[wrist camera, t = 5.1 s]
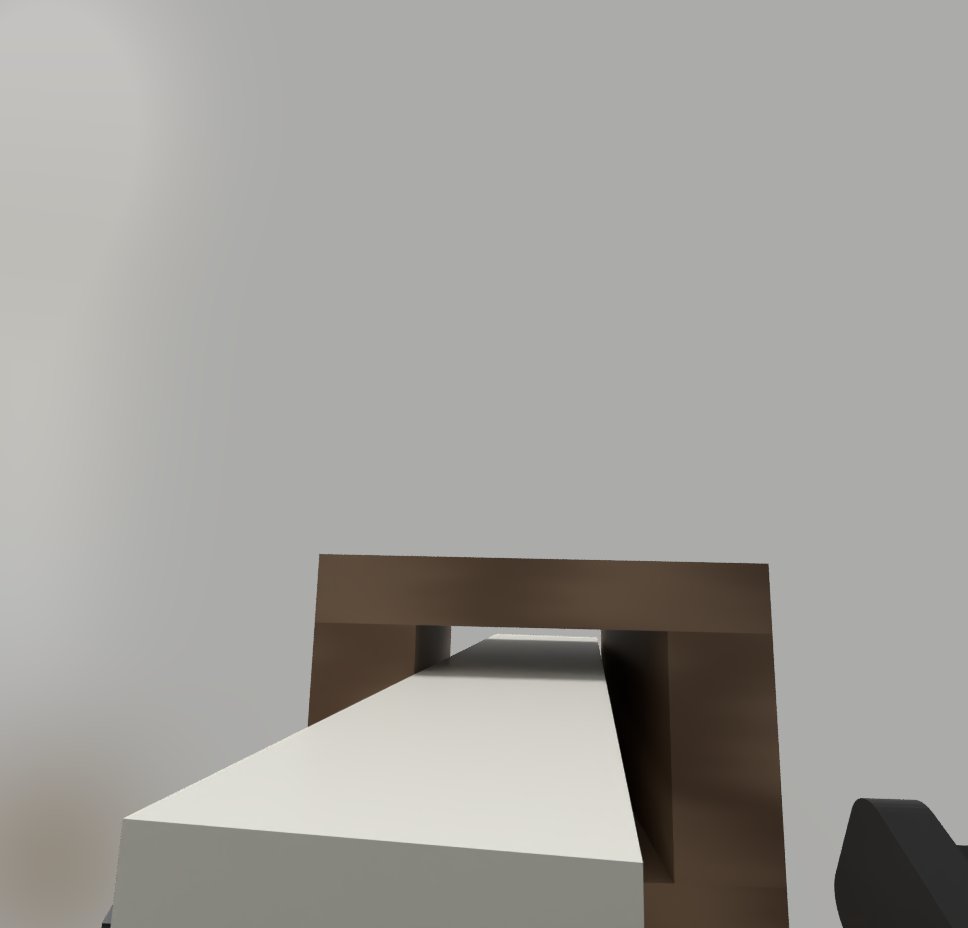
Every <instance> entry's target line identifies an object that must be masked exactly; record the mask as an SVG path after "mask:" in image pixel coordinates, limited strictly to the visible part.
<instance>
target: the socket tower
mask: <svg viewBox="0 0 968 928" xmlns="http://www.w3.org/2000/svg"><path fill="white" fill-rule="evenodd" d="M451 626H479V627H520V628H559V629H600V630H601V660H602V665H603V670H604V675H605V680H606V685H607V690H608V694H609V699H610V704H611V709H612V714H613V719H614V724H615V729H616V734H617V739H618V743H619V748H620V753H621V758H622V763H623V768H624V773H625V778H626V783H627V788H628V793H629V797H630V802H631V807H632V812H633V817H634V822H635V827H636V832H637V837H638V842H639V846H640V851H641V856H642V861H643V895H644V928H789V919H788V901H787V884H786V868H785V867H786V866H785V849H784V831H783V813H782V795H781V778H780V760H779V742H778V724H777V707H776V690H775V672H774V654H773V636H772V619H771V601H770V583H769V567H768V564H755V563H753V564H751V563H706V562H661V561H614V560H613V561H612V560H567V559H562V560H561V559H521V558H520V559H518V558H474V557H472V558H471V557H427V556H380V555H333V554H332V555H331V554H319V569H318V584H317V598H316V613H315V628H314V644H313V657H312V673H311V687H310V702H309V716H308V717H309V718H308V727H309V726H311V725H313V724H315V723H317V722H319V721H321V720H323V719H325V718H327V717H329V716H331V715H333V714H335V713H337V712H340V711H342V710H344V709H346V708H348V707H350V706H352V705H354V704H356V703H358V702H360V701H362V700H364V699H366V698H368V697H370V696H372V695H374V694H376V693H378V692H380V691H382V690H384V689H386V688H388V687H390V686H392V685H394V684H396V683H398V682H400V681H402V680H404V679H406V678H408V677H410V676H412V675H414V674H416V673H418V672H420V671H422V670H424V669H426V668H429V667H431V666H433V665H435V664H437V663H439V662H441V661H443V660H445V659H447V658H449V657H450V644H451Z"/></svg>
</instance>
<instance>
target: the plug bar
mask: <svg viewBox="0 0 968 928" xmlns="http://www.w3.org/2000/svg"><path fill="white" fill-rule="evenodd" d="M110 928H644V895H643V861H642V856H641V851H640V846H639V842H638V837H637V832H636V827H635V822H634V817H633V812H632V807H631V802H630V797H629V793H628V788H627V783H626V778H625V773H624V768H623V763H622V758H621V753H620V748H619V743H618V739H617V734H616V729H615V724H614V719H613V714H612V709H611V704H610V699H609V694H608V690H607V685H606V680H605V675H604V670H603V665H602V660H601V655H600V650H599V646H598V640H597V637H572V636H544V635H542V636H541V635H514V634H512V635H511V634H495V635H493V636H491V637H489V638H487V639H485V640H483V641H481V642H479V643H477V644H475V645H473V646H471V647H469V648H467V649H465V650H463V651H461V652H459V653H457V654H455V655H453V656H451V657H449V658H447V659H445V660H443V661H441V662H439V663H437V664H435V665H433V666H431V667H429V668H426V669H424V670H422V671H420V672H418V673H416V674H414V675H412V676H410V677H408V678H406V679H404V680H402V681H400V682H398V683H396V684H394V685H392V686H390V687H388V688H386V689H384V690H382V691H380V692H378V693H376V694H374V695H372V696H370V697H368V698H366V699H364V700H362V701H360V702H358V703H356V704H354V705H352V706H350V707H348V708H346V709H344V710H342V711H340V712H337V713H335V714H333V715H331V716H329V717H327V718H325V719H323V720H321V721H319V722H317V723H315V724H313V725H311V726H309V727H307V728H305V729H303V730H301V731H299V732H297V733H295V734H293V735H291V736H289V737H287V738H285V739H283V740H281V741H279V742H277V743H275V744H273V745H271V746H269V747H267V748H265V749H263V750H261V751H259V752H257V753H255V754H253V755H251V756H248V757H247V758H244V759H242V760H240V761H238V762H236V763H235V764H232V765H230V766H228V767H226V768H224V769H222V770H220V771H218V772H216V773H214V774H212V775H210V776H208V777H206V778H204V779H202V780H200V781H198V782H196V783H194V784H192V785H190V786H188V787H186V788H184V789H182V790H180V791H178V792H176V793H174V794H172V795H170V796H168V797H166V798H164V799H162V800H159V801H157V802H155V803H153V804H151V805H149V806H147V807H145V808H143V809H141V810H139V811H137V812H135V813H133V814H131V815H129V816H127V817H125V818H123V823H122V831H121V840H120V849H119V858H118V866H117V875H116V884H115V892H114V902H113V910H112V919H111V927H110Z"/></svg>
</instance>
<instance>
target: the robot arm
mask: <svg viewBox="0 0 968 928" xmlns="http://www.w3.org/2000/svg"><path fill="white" fill-rule="evenodd" d="M834 888H835V889H834V890H835V899H836V905H837V910H838V914H839V917H840V920H841V923H842V926H843V928H968V846H961V845H956V844H955V843H954V841H953V840H952V839H951V837H950V836H949V834H948V833H947V832H946V830H945V829H944V828H943V826H942V825H941V823H940V822H939V821H938V819H937V818H936V817H935V815H934V814H933V813H932V811H931V810H930V809H929V808H928V807H927V806H926V805H925V804H923V803H922V802H920V801H917V800H900V799H869V798H860V799H858V800H856V801H855V803H854V805H853V807H852V811H851V814H850V818H849V822H848V826H847V830H846V835H845V838H844V842H843V846H842V850H841V854H840V858H839V862H838V867H837V870H836V874H835V883H834ZM112 910H113V905H112V907H111V909H110V910H109V912H108V914H107V915H106V917H105V919H104V921H103V922H102V928H110V927H111V919H112Z"/></svg>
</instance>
